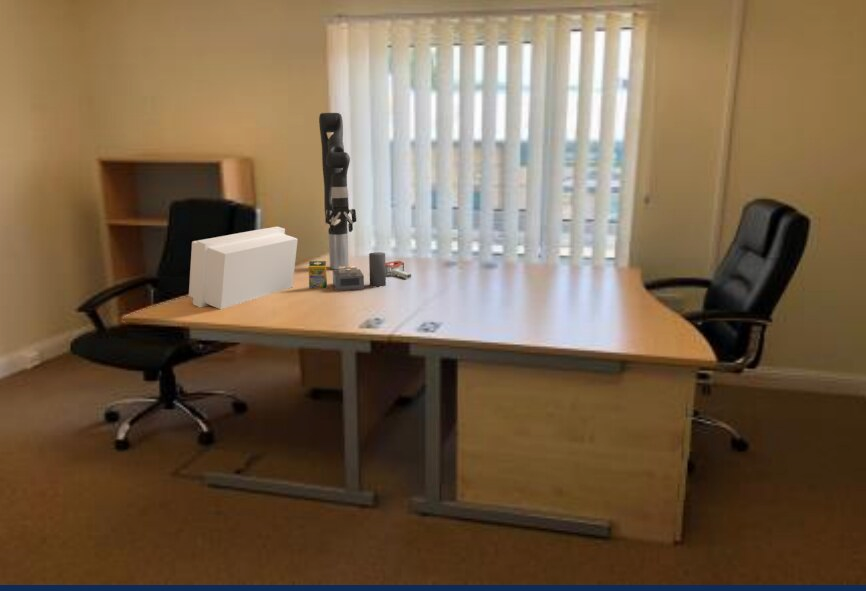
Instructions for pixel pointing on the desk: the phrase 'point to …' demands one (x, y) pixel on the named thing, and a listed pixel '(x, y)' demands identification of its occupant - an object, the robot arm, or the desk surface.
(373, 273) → the grey round-ended cylinder
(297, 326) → the desk surface
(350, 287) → the panel
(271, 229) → the light box
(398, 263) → the tape dispenser
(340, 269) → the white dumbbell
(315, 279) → the crayon box
